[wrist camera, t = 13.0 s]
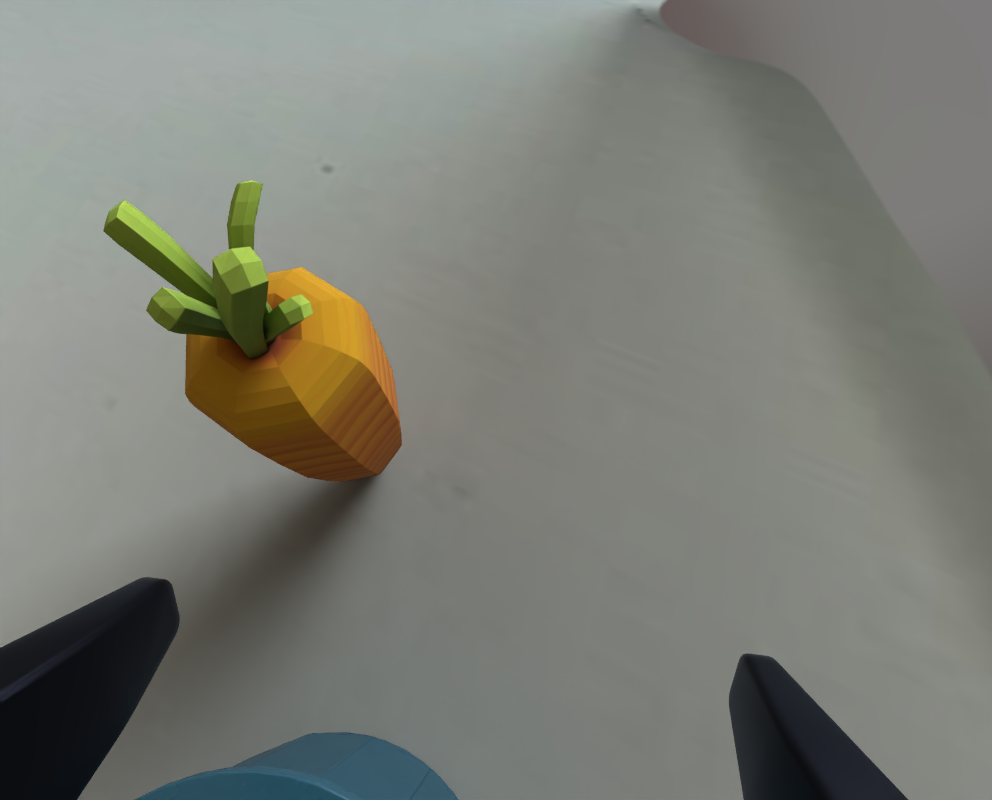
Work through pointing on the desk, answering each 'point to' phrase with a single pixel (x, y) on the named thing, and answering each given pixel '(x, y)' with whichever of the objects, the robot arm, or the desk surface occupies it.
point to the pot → (358, 766)
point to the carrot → (272, 350)
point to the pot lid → (250, 786)
